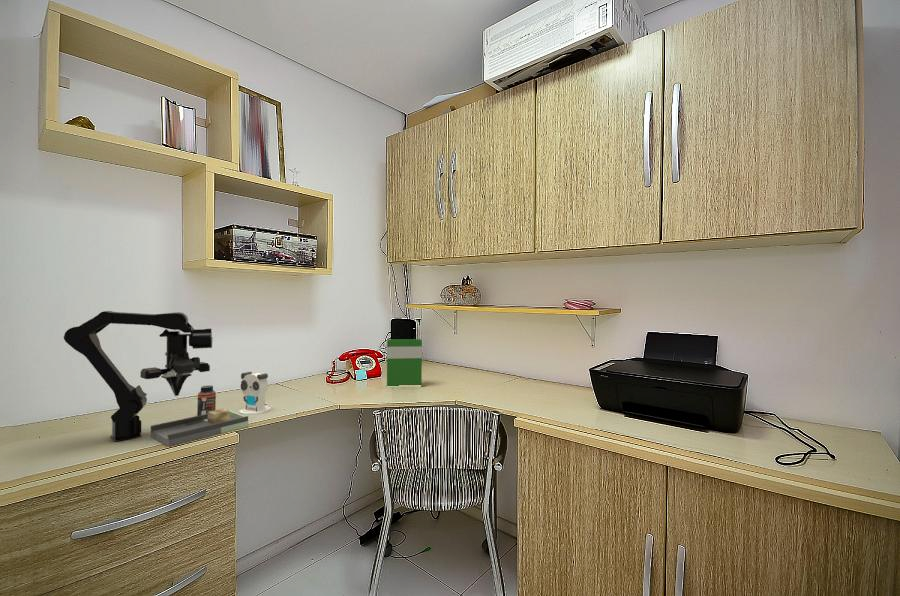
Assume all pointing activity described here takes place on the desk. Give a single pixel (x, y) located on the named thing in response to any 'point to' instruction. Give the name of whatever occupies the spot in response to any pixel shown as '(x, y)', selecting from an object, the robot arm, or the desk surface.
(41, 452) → the desk surface
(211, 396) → the supplement bottle
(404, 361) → the hardback book
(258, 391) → the panda figurine
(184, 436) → the shallow grey tray
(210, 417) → the maple block
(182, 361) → the robot arm
